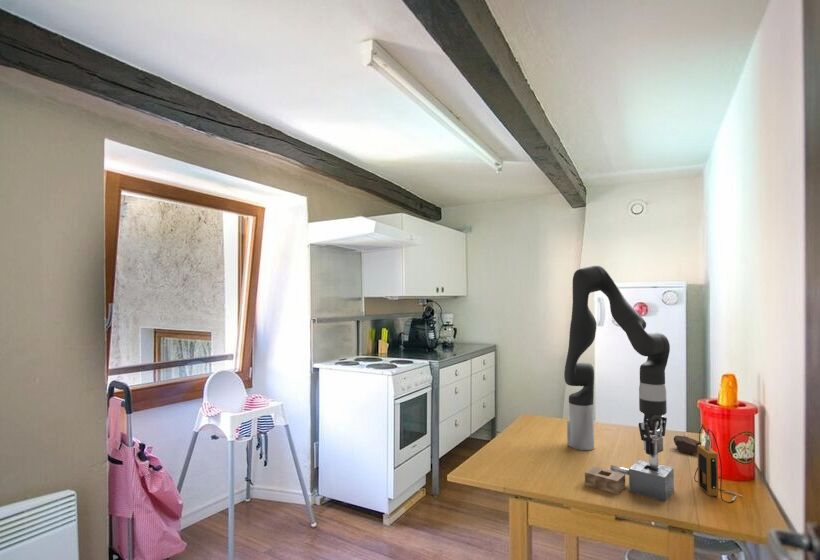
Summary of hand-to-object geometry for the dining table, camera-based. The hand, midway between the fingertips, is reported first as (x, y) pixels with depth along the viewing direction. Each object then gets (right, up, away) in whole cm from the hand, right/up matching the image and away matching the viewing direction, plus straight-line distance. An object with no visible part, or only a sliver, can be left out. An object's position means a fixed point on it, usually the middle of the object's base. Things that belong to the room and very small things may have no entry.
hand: (653, 452), depth 141 cm
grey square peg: (0, -7, 0) cm, 7 cm away
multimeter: (+20, -12, -2) cm, 23 cm away
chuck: (-3, -12, +2) cm, 12 cm away
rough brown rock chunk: (+31, -13, +33) cm, 47 cm away
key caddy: (-14, -12, +3) cm, 18 cm away
